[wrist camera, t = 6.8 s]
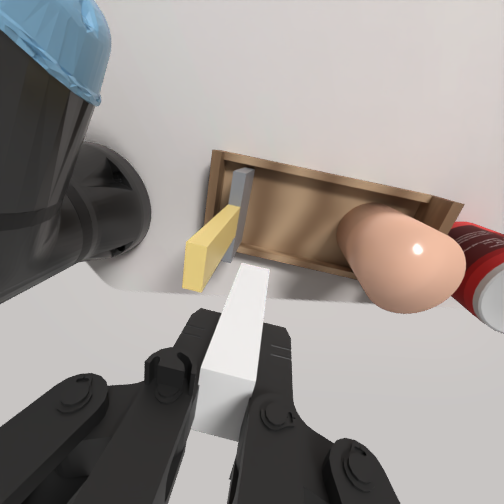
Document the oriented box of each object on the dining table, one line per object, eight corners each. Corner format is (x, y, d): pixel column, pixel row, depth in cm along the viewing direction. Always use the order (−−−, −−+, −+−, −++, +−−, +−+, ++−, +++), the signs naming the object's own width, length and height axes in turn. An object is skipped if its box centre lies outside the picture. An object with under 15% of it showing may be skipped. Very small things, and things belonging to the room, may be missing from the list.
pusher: (232, 238, 32) (178, 327, 15) (245, 166, 28) (190, 184, 12) (241, 240, 32) (196, 332, 15) (255, 169, 28) (214, 190, 12)
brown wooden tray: (209, 239, 33) (195, 255, 28) (220, 150, 28) (206, 149, 23) (388, 280, 32) (408, 304, 27) (430, 194, 27) (464, 204, 22)
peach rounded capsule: (328, 253, 31) (349, 302, 21) (348, 196, 28) (384, 219, 18) (386, 267, 31) (436, 322, 21) (413, 210, 28) (486, 242, 18)
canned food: (464, 283, 31) (551, 345, 21) (402, 269, 31) (458, 324, 21) (499, 227, 28) (622, 269, 18) (430, 213, 28) (512, 246, 18)
